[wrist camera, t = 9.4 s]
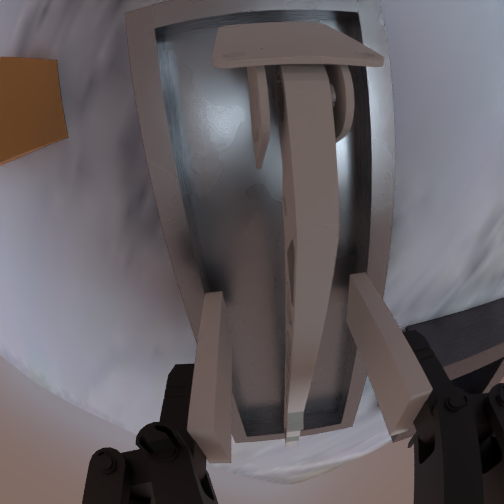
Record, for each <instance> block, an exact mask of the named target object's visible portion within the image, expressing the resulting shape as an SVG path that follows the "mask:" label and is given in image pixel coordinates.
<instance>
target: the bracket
mask: <svg viewBox="0 0 504 504" xmlns="http://www.w3.org/2000/svg"><path fill="white" fill-rule="evenodd" d="M212 62H213V66H214V67H217V68H237V67H247V75H248V86H249V98H250V111H251V122H252V134H253V146H254V153H255V160H256V167H257V169H261V168H262V164H263V161H264V157H265V154H266V150H267V147H268V143H269V140H270V110H269V98H268V88H267V80H266V73H265V68H264V65H275V76H274V80H275V97H276V107H277V116H278V126H279V136H280V146H281V157H282V204H283V216H284V231H285V273H286V338H285V395H284V432H285V442H286V447H291V446H298V441H299V436H300V431H301V430H303V429H304V428H303V415H304V409H305V405H306V402H307V398H308V394H309V390H310V386H311V382H312V378H313V374H314V370H315V365H316V361H317V357H318V352H319V348H320V343H321V338H322V334H323V329H324V324H325V319H326V314H327V308H328V303H329V298H330V292H331V286H332V281H333V275H334V268H335V262H336V256H337V249H338V242H339V230H340V221H339V189H338V169H337V153H336V143H337V142H339V141H340V140H341V139H343V138H344V137H346V136H347V134H348V133H349V131H350V129H351V126H352V122H353V116H354V88H353V82H352V78H351V74H350V71H349V68H348V65H355V66H367V67H382V66H384V57H383V56H382V55H380V54H378V53H377V52H375V51H373V50H372V49H370V48H368V47H367V46H365V45H363V44H362V43H360V42H358V41H356V40H354V39H353V38H351V37H349V36H347V35H345V34H343V33H341V32H339V31H337V30H336V29H334V28H332V27H329V26H327V25H325V24H322V23H315V22H267V23H250V24H238V25H228V26H223V27H219V28H218V32H217V36H216V40H215V45H214V50H213V54H212Z"/></svg>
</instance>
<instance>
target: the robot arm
mask: <svg viewBox="0 0 504 504" xmlns="http://www.w3.org/2000/svg"><path fill="white" fill-rule="evenodd" d="M346 322H347V324H348V327H349V329H350V332H351V334H352V336H353V339H354V341H355V344H356V346H357V349H358V351H359V354H360V356H361V359H362V361H363V364H364V366H365V369H366V371H367V374H368V377H369V379H370V382H371V385H372V387H373V390H374V393H375V395H376V398H377V401H378V403H379V406H380V409H381V412H382V415H383V417H384V420H385V423H386V426H387V429H388V432H389V435H390V436H393V435H396V434H399V433H402V432H405V431H408V430H409V429H410V427H411V426H412V424H414V426H415V429H416V433H415V434H414V436H413V437H412V439H411V440H410V442H409V444H408V448H410V447H411V446H412V445H413V444H414V459H415V460H414V463H415V464H414V468H415V471H414V477H415V478H414V504H504V383H499V384H496V385H495V386H493V387H492V388H491V390H490V391H489V393H481V394H467V393H466V392H465V391H464V390H462V389H460V388H458V387H454V386H453V384H452V383H451V381H450V379H449V378H448V376H447V374H446V372H445V370H444V369H443V367H442V365H441V364H440V362H439V360H438V358H437V357H436V356H435V353H434V352H433V350H432V349H431V348H430V345H429V343H428V342H427V340H426V338H425V337H424V336H423V335H421V334H420V333H419V332H418V331H416V330H415V329H414V330H410V331H406V332H402V331H401V329H400V328H399V326H398V324H397V322H396V321H395V319H394V317H393V316H392V314H391V312H390V311H389V309H388V307H387V306H386V304H385V302H384V301H383V299H382V297H381V296H380V294H379V293H378V291H377V289H376V288H375V286H374V285H373V283H372V281H371V280H370V278H369V277H368V275H367V274H366V272H363V273H357V274H350V280H349V294H348V306H347V316H346ZM164 397H165V398H164V400H163V405H162V411H161V416H160V422H153V423H150V424H148V425H146V426H145V427H143V428H142V429H141V430H140V431H139V433H138V435H137V437H136V445H137V446H138V447H139V448H140V449H138V450H133V451H129V452H123V453H120V452H119V451H118V450H116V449H113V448H110V447H109V448H102V449H100V450H98V451H96V452H95V453H94V454H93V455H92V458H91V460H90V463H89V468H88V473H87V479H86V484H85V489H84V495H83V501H82V504H218V502H217V498H216V495H215V492H214V489H213V486H212V483H211V480H210V477H209V474H208V472H207V470H206V459H207V460H208V461H209V463H231V400H232V332H231V328H230V324H229V319H228V315H227V310H226V306H225V301H224V297H223V292H222V291H219V292H210V293H205V296H204V303H203V309H202V316H201V323H200V330H199V337H198V344H197V351H196V358H195V364H176V365H175V366H174V367H173V369H172V370H171V372H170V373H169V375H168V379H167V384H166V389H165V395H164Z"/></svg>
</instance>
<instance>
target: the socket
mask: <svg viewBox="0 0 504 504" xmlns="http://www.w3.org/2000/svg"><path fill="white" fill-rule="evenodd" d="M414 329H415V330H416V331H418V332H419V333H420V334H421V335H423V336H424V337H425V338H426V340H427V342H428V343H429V345H430V348H431V349H432V350H433V352H434V353H435V356H436V357H437V358H438V360H439V362H440V364H441V365H442V367H443V369H444V370H445V372H446V374H447V376H448V378H449V379H450V381H451V383H452V384H453V386H454V387H458V388H460V389H462V390H464V391H465V392H466V393H467V394H481V393H489V391H490V390H491V388H492V387H493V386H495V385H496V384H499V382H500V381H501V379H502V378H503V376H504V298H502V299H499V300H496V301H493V302H490V303H488V304H485V305H481V306H478V307H475V308H472V309H469V310H466V311H462V312H459V313H456V314H452V315H449V316H445V317H442V318H438V319H435V320H431V321H427V322H423V323H420V324H416V325H412V326H408V327H407V328H406V331H410V330H414ZM415 433H416V429H415V426H414V424H412V426H411V427H410V429H409V430H408V431H405V432H402V433H399V434H396V435H393V436H391V438H392V441H393V442H397V441H400V440H403V439H406V438H409V437H412V436H414V434H415Z"/></svg>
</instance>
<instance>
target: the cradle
mask: <svg viewBox="0 0 504 504" xmlns="http://www.w3.org/2000/svg"><path fill="white" fill-rule="evenodd" d="M125 19H126V30H127V40H128V49H129V57H130V65H131V73H132V80H133V87H134V93H135V100H136V106H137V112H138V118H139V123H140V129H141V134H142V139H143V145H144V150H145V155H146V159H147V164H148V169H149V174H150V178H151V183H152V187H153V191H154V196H155V200H156V204H157V208H158V212H159V216H160V220H161V224H162V228H163V232H164V236H165V240H166V243H167V247H168V251H169V254H170V258H171V262H172V265H173V269H174V272H175V276H176V279H177V282H178V286H179V289H180V292H181V296H182V299H183V302H184V305H185V308H186V312H187V315H188V318H189V321H190V324H191V327H192V330H193V333H194V336H195V339H196V342H197V344H198V337H199V330H200V323H201V316H202V309H203V303H204V296H205V293H210V292H219V291H222V292H223V297H224V301H225V306H226V310H227V315H228V319H229V324H230V328H231V332H232V400H231V433H232V436H233V438H234V441H235V443H241V442H255V441H266V440H276V439H284V438H285V432H284V395H285V338H286V273H285V231H284V216H283V204H282V157H281V146H280V136H279V126H278V116H277V107H276V97H275V80H274V76H275V65H264V68H265V73H266V80H267V88H268V98H269V110H270V140H269V143H268V147H267V150H266V154H265V157H264V161H263V164H262V168H261V169H257V167H256V160H255V153H254V146H253V134H252V122H251V111H250V98H249V86H248V75H247V67H237V68H217V67H214V66H213V62H212V54H213V50H214V45H215V40H216V36H217V32H218V28H219V27H223V26H228V25H238V24H250V23H267V22H315V23H322V24H325V25H327V26H329V27H332V28H334V29H336V30H337V31H339V32H341V33H343V34H345V35H347V36H349V37H351V38H353V39H354V40H356V41H358V42H360V43H362V44H363V45H365V46H367V47H368V48H370V49H372V50H373V51H375V52H377V53H378V54H380V55H382V56H383V57H384V66H382V67H367V66H355V65H348V68H349V71H350V74H351V78H352V82H353V88H354V116H353V122H352V126H351V129H350V131H349V133H348V134H347V136H346V137H344V138H343V139H341V140H340V141H339V142H337V143H336V153H337V169H338V189H339V221H340V230H339V242H338V249H337V256H336V262H335V268H334V275H333V281H332V286H331V292H330V298H329V303H328V308H327V314H326V319H325V324H324V329H323V334H322V338H321V343H320V348H319V352H318V357H317V361H316V365H315V370H314V374H313V378H312V382H311V386H310V390H309V394H308V398H307V402H306V405H305V409H304V415H303V428H304V429H303V430H301V431H300V436H306V435H312V434H318V433H323V432H329V431H334V430H339V429H344V428H348V427H352V426H353V423H354V419H355V416H356V413H357V410H358V406H359V403H360V399H361V396H362V392H363V389H364V385H365V381H366V377H367V371H366V369H365V366H364V364H363V361H362V359H361V356H360V354H359V351H358V349H357V346H356V344H355V341H354V339H353V336H352V334H351V332H350V329H349V327H348V324H347V322H346V316H347V306H348V294H349V280H350V274H357V273H363V272H366V274H367V275H368V277H369V278H370V280H371V281H372V283H373V285H374V286H375V288H376V289H377V291H378V293H379V294H380V296H381V297H382V299H383V296H384V289H385V283H386V276H387V268H388V260H389V251H390V242H391V231H392V219H393V204H394V183H395V123H394V102H393V88H392V76H391V67H390V58H389V50H388V43H387V36H386V30H385V24H384V18H383V12H382V7H381V2H380V0H171V1H167V2H163V3H159V4H155V5H152V6H148V7H145V8H141V9H138V10H135V11H132V12H128V13H125Z"/></svg>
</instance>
